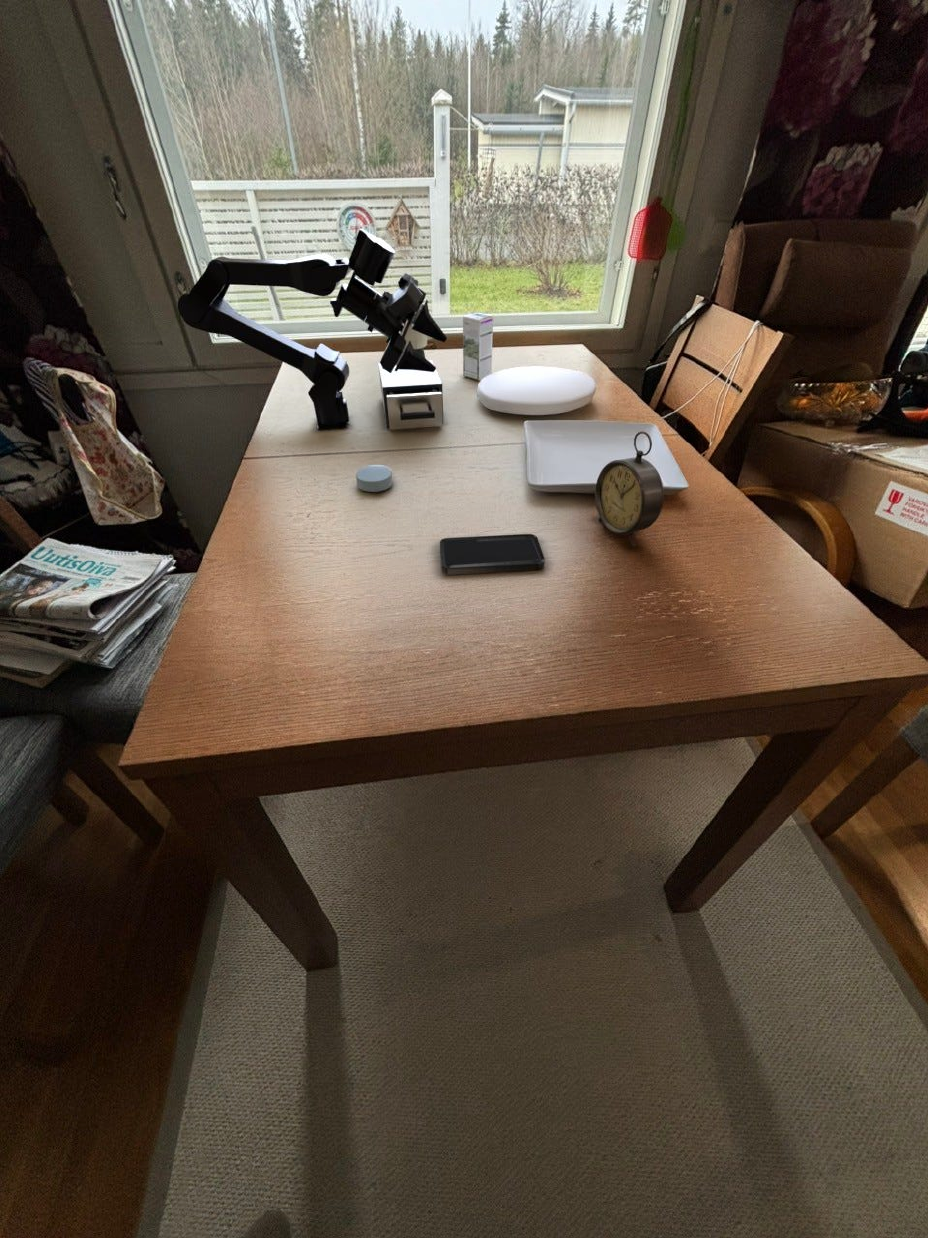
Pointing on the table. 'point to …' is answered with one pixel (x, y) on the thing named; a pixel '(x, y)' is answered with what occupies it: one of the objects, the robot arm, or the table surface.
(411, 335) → the character mug
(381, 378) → the cabinet
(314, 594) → the table surface
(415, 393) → the drawer
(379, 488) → the pale blue short cylinder
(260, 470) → the table surface
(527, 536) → the phone
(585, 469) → the square plate
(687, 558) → the table surface
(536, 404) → the white rounded disc
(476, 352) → the syrup box
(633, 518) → the alarm clock
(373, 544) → the table surface
